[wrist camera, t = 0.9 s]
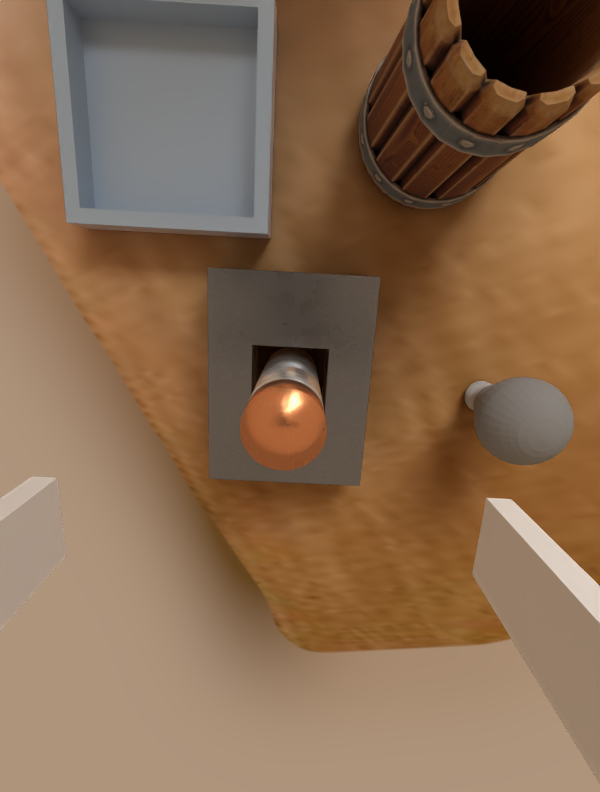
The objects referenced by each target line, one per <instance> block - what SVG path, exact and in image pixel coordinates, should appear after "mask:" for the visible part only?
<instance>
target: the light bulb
mask: <svg viewBox="0 0 600 792" xmlns="http://www.w3.org/2000/svg"><path fill="white" fill-rule="evenodd" d="M465 402H466V404H467V406H468V407H469V408H470V409H472V410H473V411H474V420H473V421H474V428H475V431H476V434H477V437H478V439H479V440H480V442H481V443H482V445H483V446H484V448H485V449H487V450H488V451H489V452H490V453H491V454H492V455H493V456H495V457H496V458H498V459H500V460H502V461H505V462H508V463H511V464H518V465H533V464H538V463H542V462H544V461H547V460H549V459H551V458H553V457H555V456H556V455H557V454H559V453H560V452H561V451H562V450H563V449H564V448H565V446H566V445H567V444H568V442H569V440H570V439H571V436H572V433H573V427H574V417H573V412H572V409H571V406H570V404H569V402H568V400H567V399H566V397H565V396H564V395H563V394H562V393H561V392H560V391H559V390H558V389H557V388H556V387H554V386H553V385H551V384H550V383H547V382H544V381H542V380H539V379H535V378H528V377H517V378H510V379H506V380H503V381H500V382H498V383H496V384H494V385H492V384H490V383H488V382H485V381H478V382H475V383H473V384H471V385H470V386H469V387H468V389H467V390H466V392H465Z"/></svg>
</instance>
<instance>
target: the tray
mask: <svg viewBox="0 0 600 792" xmlns="http://www.w3.org/2000/svg"><path fill="white" fill-rule="evenodd" d="M46 4H47V15H48V26H49V36H50V47H51V58H52V69H53V80H54V91H55V102H56V113H57V124H58V135H59V146H60V157H61V168H62V179H63V190H64V201H65V211H66V222H67V223H70V224H73V225H77V226H80V227H84V228H87V229H100V230H118V231H136V232H154V233H172V234H190V235H208V236H226V237H244V238H262V239H271V218H272V186H273V154H274V122H275V90H276V58H277V26H278V18H277V6H276V0H46Z"/></svg>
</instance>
